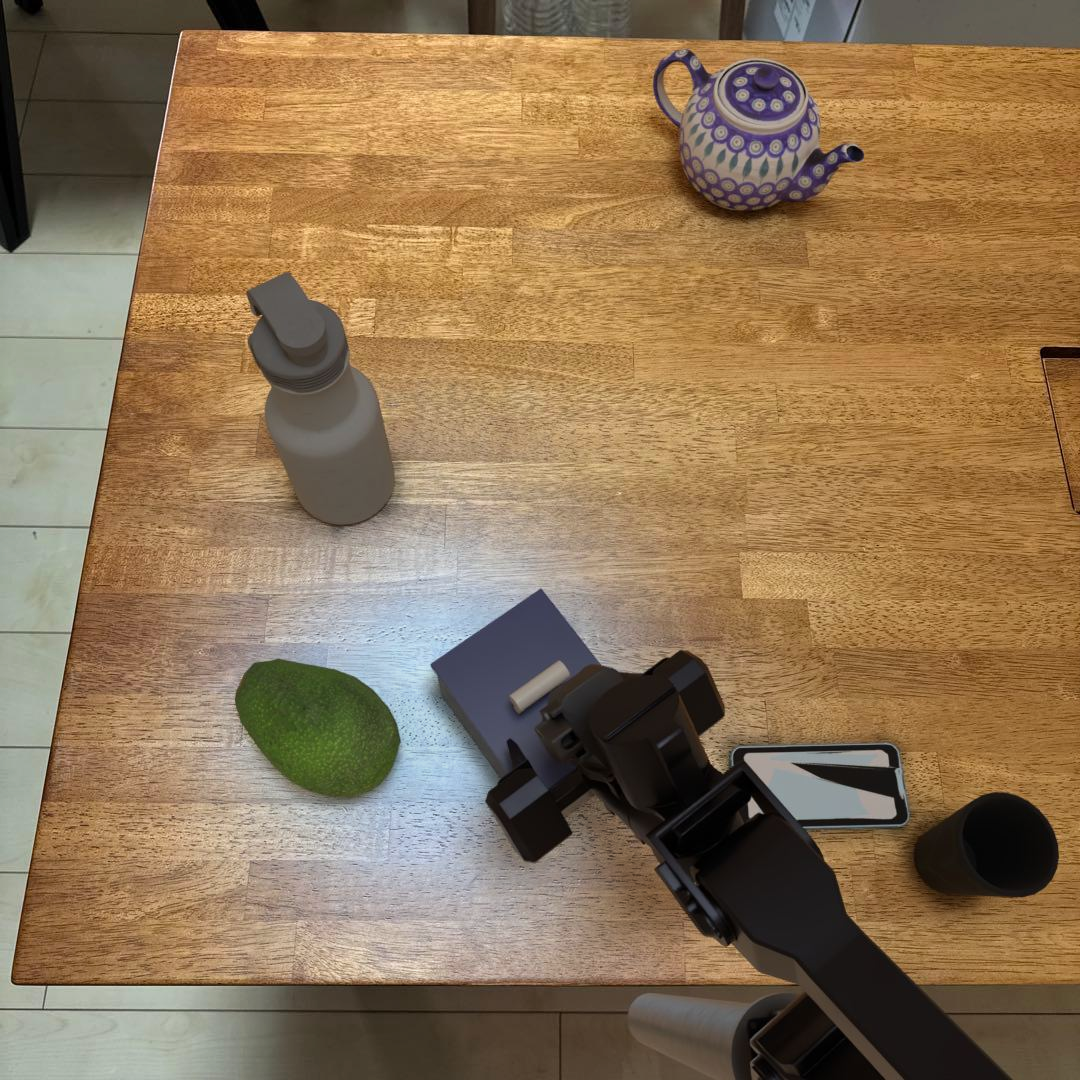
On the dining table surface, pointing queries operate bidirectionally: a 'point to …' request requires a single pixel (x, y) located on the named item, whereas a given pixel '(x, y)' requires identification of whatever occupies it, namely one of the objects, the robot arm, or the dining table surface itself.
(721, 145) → the teapot
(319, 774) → the fruit
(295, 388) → the water bottle
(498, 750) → the lid
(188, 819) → the dining table surface
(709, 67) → the dining table surface
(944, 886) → the cup
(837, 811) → the smartphone
